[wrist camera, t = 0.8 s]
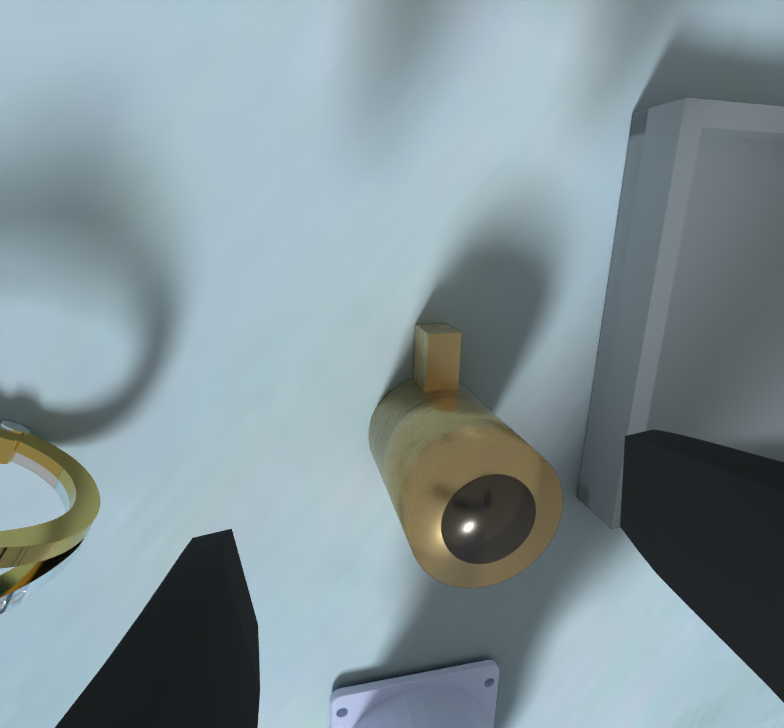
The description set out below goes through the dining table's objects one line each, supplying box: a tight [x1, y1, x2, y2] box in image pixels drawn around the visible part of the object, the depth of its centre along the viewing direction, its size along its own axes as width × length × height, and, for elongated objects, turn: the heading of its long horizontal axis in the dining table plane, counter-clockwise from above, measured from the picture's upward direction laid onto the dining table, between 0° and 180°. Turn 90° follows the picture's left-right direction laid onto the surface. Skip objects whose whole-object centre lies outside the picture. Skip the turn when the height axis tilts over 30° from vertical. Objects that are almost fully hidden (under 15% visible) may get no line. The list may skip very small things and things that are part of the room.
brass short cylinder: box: [369, 323, 563, 588], centre depth 16 cm, size 7×5×6 cm
